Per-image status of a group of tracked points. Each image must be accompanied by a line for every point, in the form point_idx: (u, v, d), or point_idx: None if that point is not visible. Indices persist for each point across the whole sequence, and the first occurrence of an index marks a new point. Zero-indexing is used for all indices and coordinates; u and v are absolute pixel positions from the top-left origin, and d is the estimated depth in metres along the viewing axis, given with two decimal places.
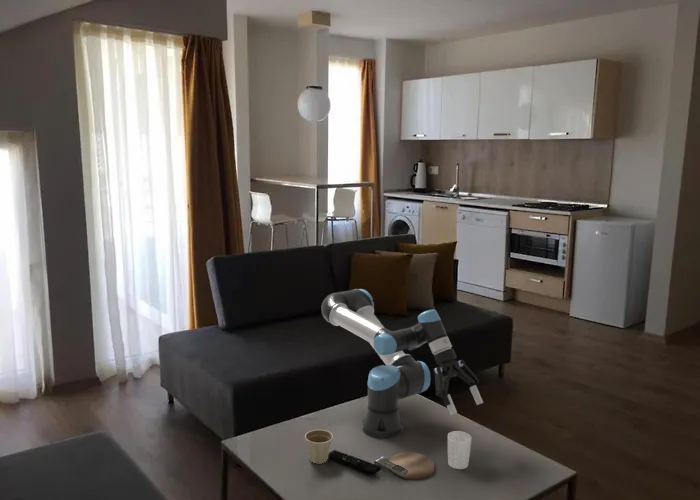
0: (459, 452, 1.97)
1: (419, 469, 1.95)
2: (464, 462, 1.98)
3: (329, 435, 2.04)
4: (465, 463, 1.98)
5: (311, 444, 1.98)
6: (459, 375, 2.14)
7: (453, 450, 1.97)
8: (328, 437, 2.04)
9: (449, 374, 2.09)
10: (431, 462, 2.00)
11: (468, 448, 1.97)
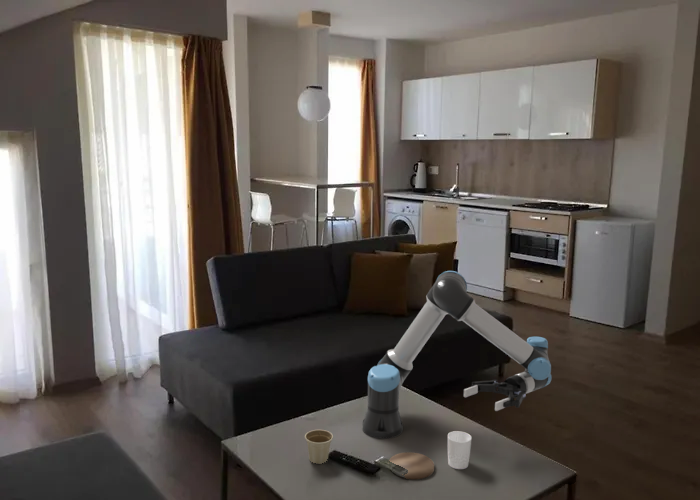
0: (459, 452, 1.97)
1: (419, 469, 1.95)
2: (464, 462, 1.98)
3: (329, 435, 2.04)
4: (465, 463, 1.98)
5: (311, 444, 1.98)
6: (494, 387, 2.13)
7: (453, 450, 1.97)
8: (328, 437, 2.04)
9: None
10: (431, 462, 2.00)
11: (468, 448, 1.97)
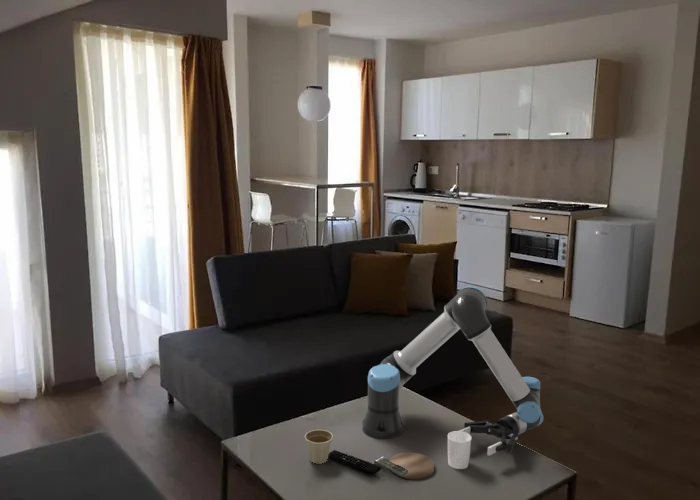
0: (459, 452, 1.97)
1: (419, 469, 1.95)
2: (464, 462, 1.98)
3: (329, 435, 2.04)
4: (465, 463, 1.98)
5: (311, 444, 1.98)
6: (486, 429, 2.13)
7: (453, 450, 1.97)
8: (328, 437, 2.04)
9: None
10: (431, 462, 2.00)
11: (468, 448, 1.97)
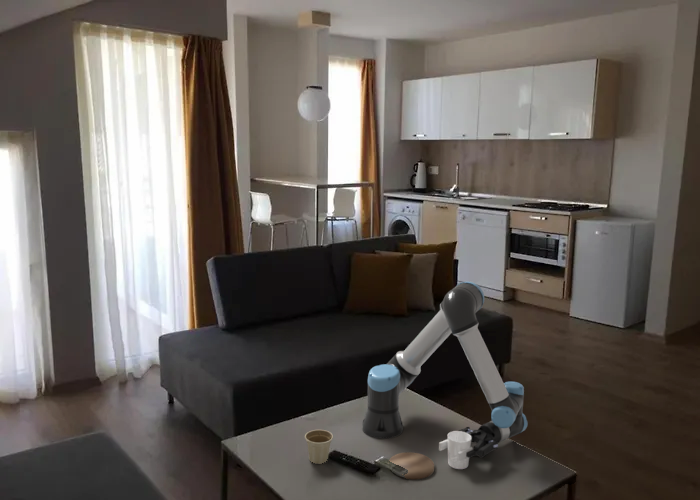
0: None
1: (419, 469, 1.95)
2: (464, 462, 1.98)
3: (329, 435, 2.04)
4: (465, 463, 1.98)
5: (311, 444, 1.98)
6: None
7: (453, 450, 1.97)
8: (328, 437, 2.04)
9: None
10: (431, 462, 2.00)
11: None
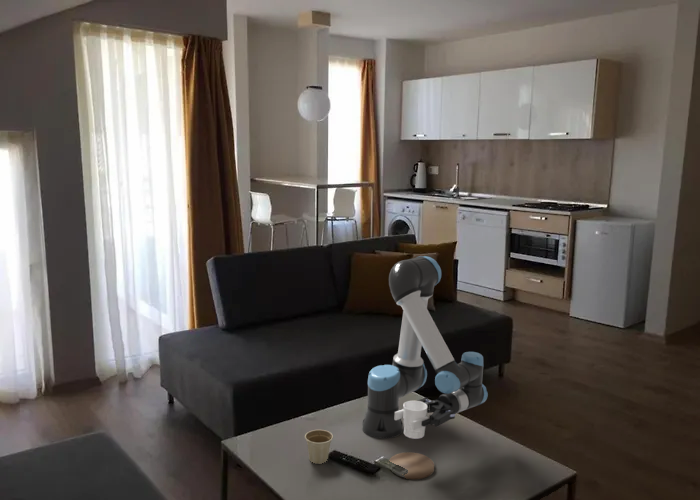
0: None
1: (419, 469, 1.95)
2: (420, 431, 1.94)
3: (329, 435, 2.04)
4: (421, 432, 1.94)
5: (311, 444, 1.98)
6: (427, 407, 2.02)
7: (409, 419, 1.93)
8: (328, 437, 2.04)
9: None
10: (431, 462, 2.00)
11: None
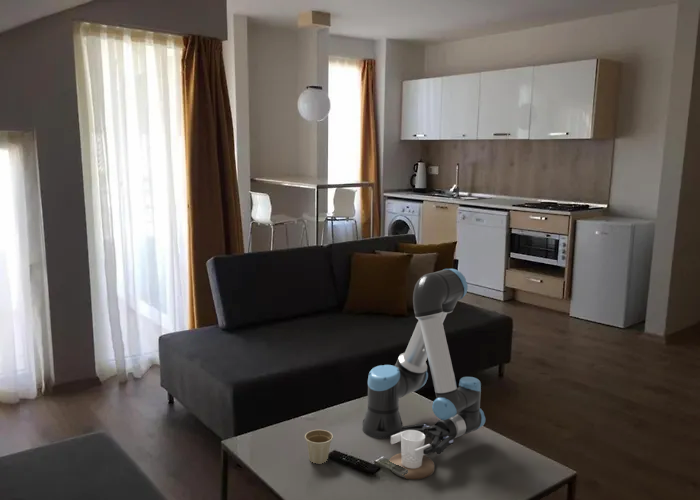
0: (412, 451, 1.94)
1: (419, 469, 1.95)
2: (417, 461, 1.95)
3: (329, 435, 2.04)
4: (418, 462, 1.96)
5: (311, 444, 1.98)
6: (423, 432, 2.05)
7: (406, 449, 1.95)
8: (328, 437, 2.04)
9: None
10: (431, 462, 2.00)
11: None
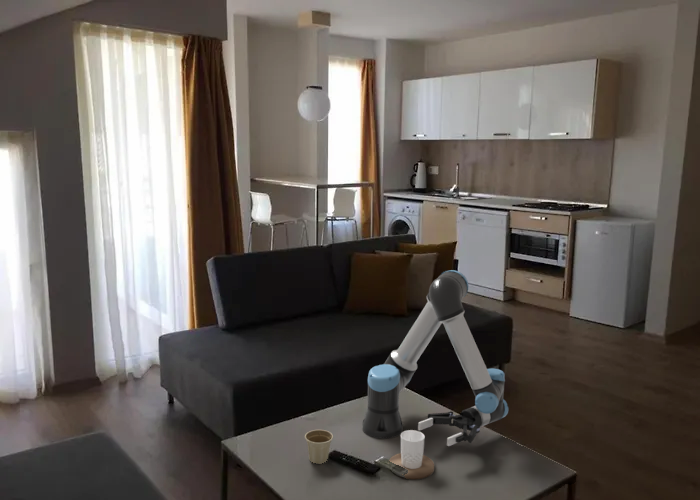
0: (411, 451, 1.94)
1: (419, 469, 1.95)
2: (417, 462, 1.95)
3: (329, 435, 2.04)
4: (418, 463, 1.96)
5: (311, 444, 1.98)
6: (449, 420, 2.13)
7: (406, 449, 1.95)
8: (328, 437, 2.04)
9: None
10: (431, 462, 2.00)
11: (421, 447, 1.95)
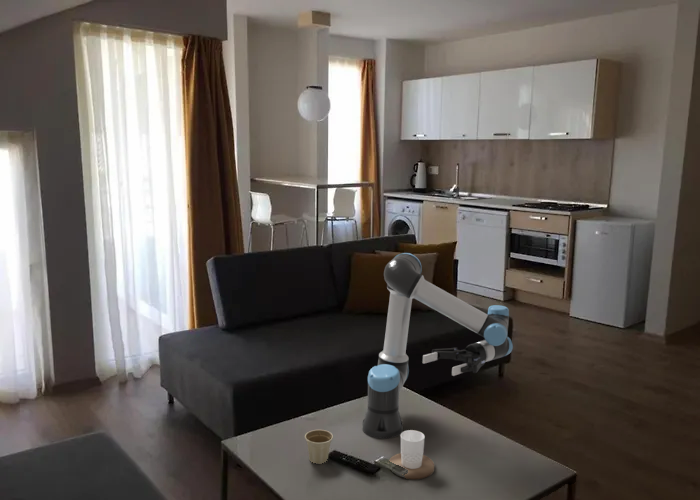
0: (411, 451, 1.94)
1: (419, 469, 1.95)
2: (417, 462, 1.95)
3: (329, 435, 2.04)
4: (418, 463, 1.96)
5: (311, 444, 1.98)
6: (453, 354, 2.12)
7: (406, 449, 1.95)
8: (328, 437, 2.04)
9: None
10: (431, 462, 2.00)
11: (421, 447, 1.95)
